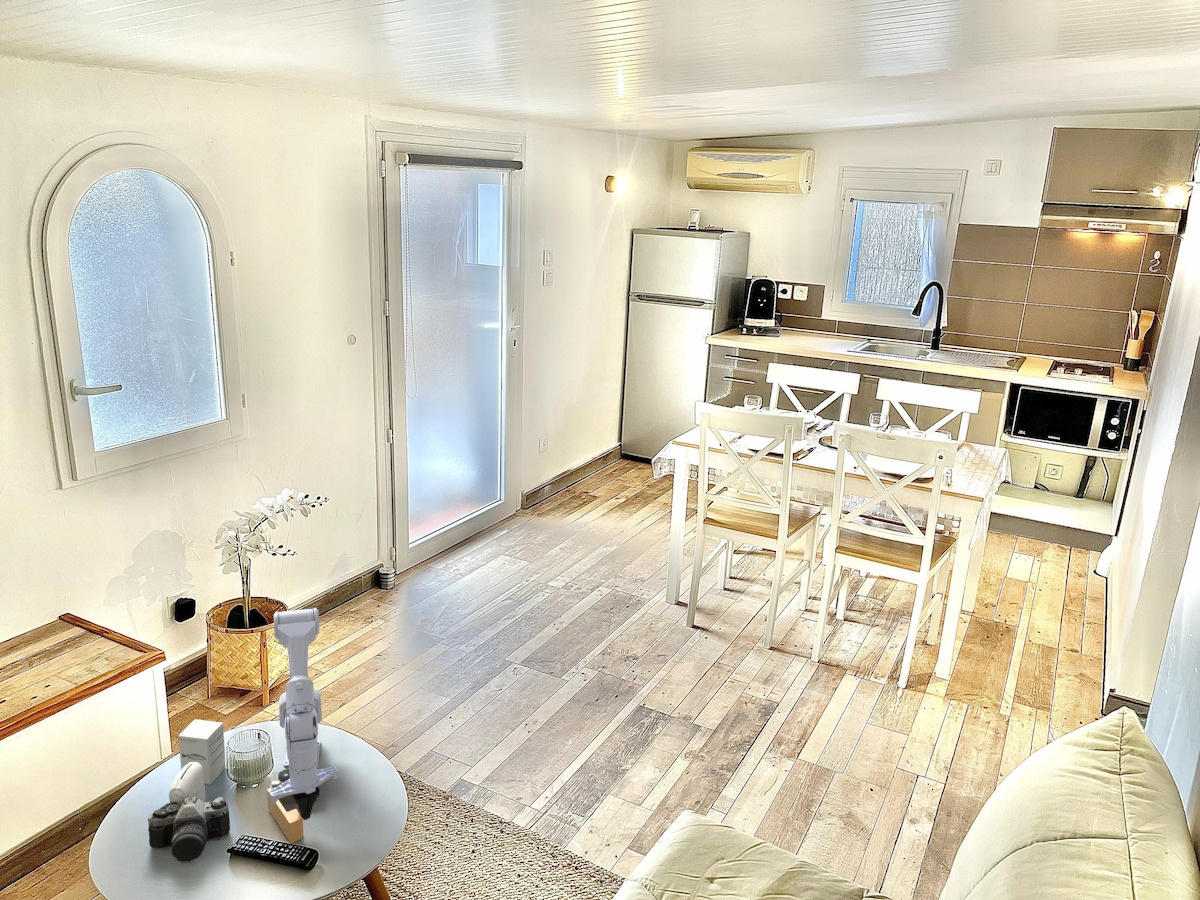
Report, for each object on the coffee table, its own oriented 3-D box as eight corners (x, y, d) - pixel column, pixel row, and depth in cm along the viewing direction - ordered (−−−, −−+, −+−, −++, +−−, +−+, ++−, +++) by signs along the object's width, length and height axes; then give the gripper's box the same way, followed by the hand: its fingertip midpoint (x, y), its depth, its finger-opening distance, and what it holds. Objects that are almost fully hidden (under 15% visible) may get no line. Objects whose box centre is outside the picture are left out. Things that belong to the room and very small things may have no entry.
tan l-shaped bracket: (280, 803, 201) (279, 784, 200) (303, 837, 191) (302, 818, 190) (267, 808, 199) (266, 789, 198) (290, 842, 189) (289, 823, 188)
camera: (144, 873, 180) (140, 832, 177) (152, 839, 189) (148, 799, 186) (228, 858, 185) (225, 818, 182) (231, 826, 194) (228, 787, 191)
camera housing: (273, 788, 207) (272, 768, 205) (318, 784, 209) (317, 764, 207) (270, 806, 201) (269, 785, 199) (316, 801, 203) (315, 781, 202)
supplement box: (180, 782, 207) (176, 735, 204) (198, 763, 214) (194, 717, 211) (210, 786, 207) (206, 739, 203) (227, 767, 214) (223, 721, 210)
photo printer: (189, 835, 191) (185, 785, 187) (169, 834, 190) (165, 785, 187) (208, 804, 200) (205, 756, 197) (189, 803, 200) (185, 756, 197)
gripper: (276, 785, 181) (279, 840, 185) (343, 759, 190) (344, 813, 194) (263, 768, 186) (267, 822, 190) (329, 744, 195) (330, 796, 199)
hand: (305, 816), depth 192 cm, fingers closed
